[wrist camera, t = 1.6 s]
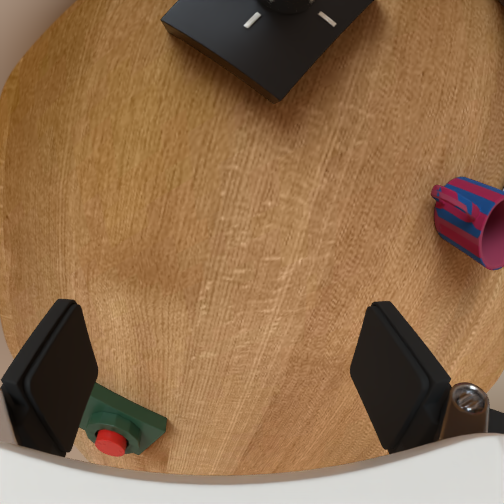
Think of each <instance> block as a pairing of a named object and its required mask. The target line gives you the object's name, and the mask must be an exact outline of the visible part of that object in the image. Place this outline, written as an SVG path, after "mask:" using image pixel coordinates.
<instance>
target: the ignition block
mask: <svg viewBox="0 0 504 504" xmlns="http://www.w3.org/2000/svg"><path fill="white" fill-rule="evenodd" d="M166 423H167V418H165V417H163V416H161V415H159V414H156V413H154V412H152V411H150V410H148V409H146V408H144V407H142V406H139V405H137V404H135V403H133V402H131V401H129V400H127V399H125V398H123V397H122V396H120V395H118V394H116V393H114V392H112V391H110V390H108V389H107V388H105V387H103V386H101V385H99V384H98V383H96V382H95V384H94V387H93V390H92V392H91V395H90V397H89V400H88V403H87V406H86V408H85V411H84V414H83V417H82V420H81V422H80V425H79V427H80V428H82V429H83V430H85V431H86V434H87V436H88V438H89V439H90V440H91V441H92V442H93V443H95V441H96V438H97V434H98V431H99V430H103V429H105V430H110V431H114V432H116V433H118V434H121V435H122V436H124V437H125V438H126V440H127V445H126V450H125V454H129V453H135V454H137V455H140V454H141V453H142V452H143V451H144V450H145V449H147V448H148V447H149V446H150V445H151V444H152V443H153V442H155V441H156V440H157V439H158V438H159V437H160V436H161V435H163V434H164V433H165V432H166Z"/></svg>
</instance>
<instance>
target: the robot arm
mask: <svg viewBox="0 0 504 504" xmlns="http://www.w3.org/2000/svg"><path fill="white" fill-rule="evenodd" d="M350 375H351V378H352V380H353V382H354V384H355V386H356V389H357V391H358V393H359V395H360V397H361V400H362V402H363V404H364V406H365V408H366V411H367V413H368V415H369V417H370V420H371V422H372V424H373V426H374V429H375V431H376V433H377V436H378V438H379V440H380V442H381V445H382V447H383V448H384V449H385V450H387V449H388V452H389V455H385V456H380V457H376V458H372V459H367V460H363V461H358V462H353V463H348V464H343V465H337V466H331V467H325V468H318V469H311V470H303V471H294V472H284V473H273V474H258V475H227V476H212V475H183V474H168V473H156V472H146V471H137V470H130V469H123V468H116V467H110V466H104V465H99V464H93V463H88V462H84V461H79V460H74V459H70V458H65V455H66V452H70V451H71V449H72V446H73V443H74V440H75V437H76V434H77V431H78V428H79V425H80V422H81V420H82V417H83V414H84V411H85V408H86V406H87V403H88V400H89V397H90V395H91V392H92V390H93V387H94V384H95V382H96V379H97V376H98V366H97V362H96V359H95V356H94V353H93V349H92V346H91V342H90V339H89V335H88V332H87V328H86V324H85V320H84V316H83V312H82V308H81V306H80V305H78V304H77V303H76V301H75V300H70V299H58V300H57V301H56V302H55V303H54V305H53V306H52V307H51V309H50V310H49V311H48V313H47V314H46V315H45V317H44V318H43V319H42V321H41V322H40V323H39V325H38V326H37V327H36V329H35V330H34V332H33V333H32V334H31V336H30V337H29V339H28V340H27V341H26V343H25V344H24V346H23V347H22V349H21V350H20V351H19V353H18V354H17V356H16V357H15V359H14V360H13V362H12V364H11V365H10V366H9V368H8V370H7V371H6V373H5V374H4V376H3V378H2V379H1V381H2V383H3V385H2V386H1V388H0V504H504V413H501V412H499V411H496V410H493V409H490V408H489V407H490V404H489V399H488V397H487V394H486V393H485V392H484V391H483V390H482V389H481V388H479V387H478V386H476V385H474V384H472V383H466V382H463V383H458V384H455V385H454V386H453V387H451V385H450V384H449V382H450V380H451V378H450V376H449V375H448V374H447V372H446V371H445V370H444V368H443V367H442V366H441V364H440V363H439V362H438V360H437V359H436V358H435V357H434V355H433V354H432V353H431V351H430V350H429V349H428V347H427V346H426V345H425V344H424V342H423V341H422V340H421V339H420V337H419V336H418V335H417V333H416V332H415V331H414V330H413V328H412V327H411V326H410V325H409V323H408V322H407V321H406V320H405V319H404V317H403V316H402V315H401V314H400V312H399V311H398V310H397V309H396V308H395V306H394V305H393V304H392V303H391V302H390V301H381V302H373V303H372V305H371V306H369V307H368V308H367V310H366V313H365V317H364V321H363V325H362V328H361V332H360V336H359V339H358V343H357V346H356V350H355V353H354V356H353V360H352V363H351V366H350Z"/></svg>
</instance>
